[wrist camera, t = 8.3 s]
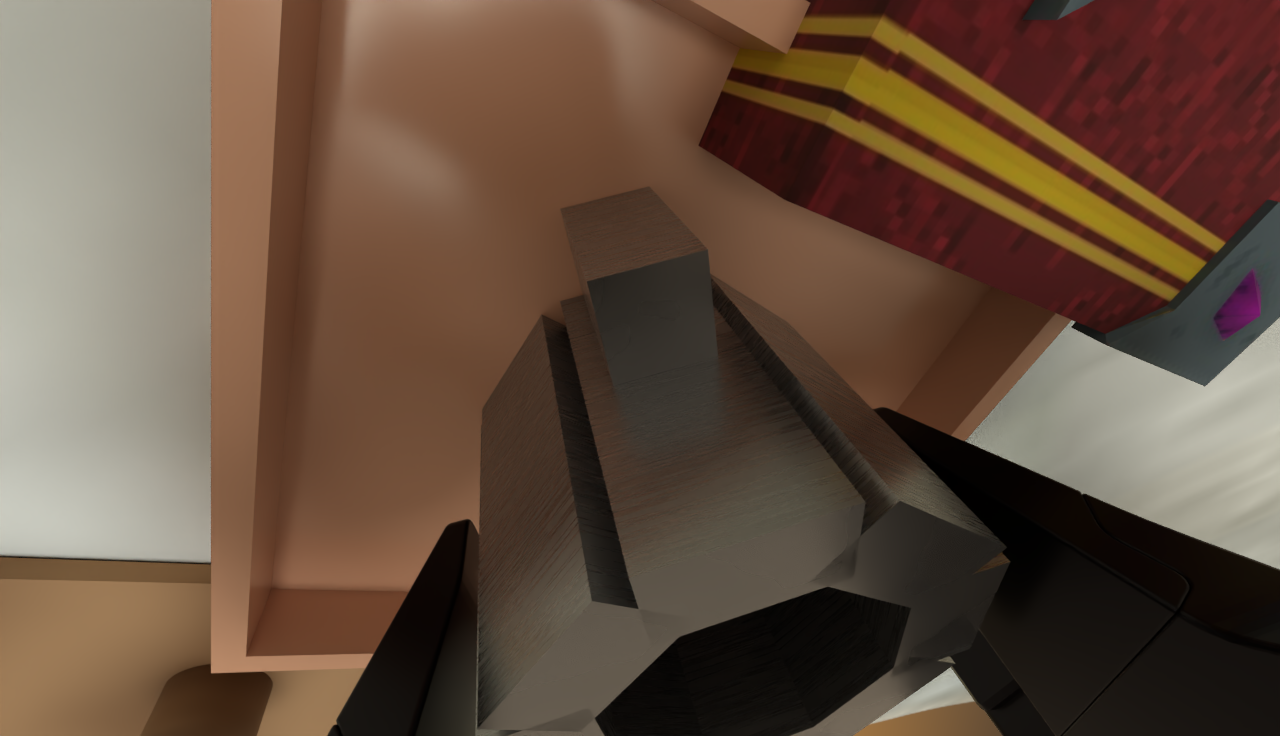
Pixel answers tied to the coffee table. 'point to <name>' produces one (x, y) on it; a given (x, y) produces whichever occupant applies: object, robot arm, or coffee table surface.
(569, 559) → the grey tankard
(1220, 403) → the coffee table surface
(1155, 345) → the decorative book
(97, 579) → the square plate with peg
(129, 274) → the coffee table surface
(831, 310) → the tray
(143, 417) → the coffee table surface
